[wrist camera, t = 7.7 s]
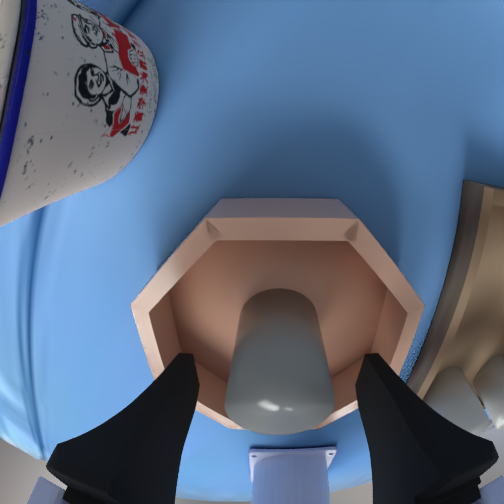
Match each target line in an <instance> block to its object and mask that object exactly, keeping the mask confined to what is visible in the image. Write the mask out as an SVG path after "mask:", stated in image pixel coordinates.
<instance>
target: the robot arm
mask: <svg viewBox="0 0 504 504" xmlns="http://www.w3.org/2000/svg"><path fill="white" fill-rule="evenodd" d="M199 387H200V383H199V379H198V374H197V370H196V365H195V361H194V356H193V354H189V353H178V354H177V355H176V357H175V358H174V359H173V360H172V361H171V362H170V364H169V365H168V366H167V367H166V368H165V369H164V371H163V372H162V373H161V374H160V375H159V376H158V377H157V378H156V379H155V380H154V381H153V382H152V384H151V385H150V386H149V387H148V388H147V389H146V390H145V391H144V392H142V393H141V394H140V395H139V396H138V397H137V398H136V399H135V400H134V401H133V402H132V403H130V404H129V405H128V406H127V407H126V408H124V409H123V410H122V411H120V412H119V413H118V414H116V415H115V416H113V417H112V418H110V419H109V420H108V421H106V422H104V423H103V424H101V425H100V426H98V427H96V428H94V429H92V430H90V431H88V432H86V433H84V434H82V435H80V436H78V437H75V438H73V439H70V440H68V441H65V442H62V443H59V444H57V446H56V447H55V449H54V451H53V453H52V455H51V457H50V459H49V461H48V463H47V465H46V467H47V470H49V472H50V473H51V474H53V475H54V476H55V477H56V478H58V479H59V480H60V481H61V482H63V483H64V484H65V485H67V486H68V487H67V489H66V491H65V490H64V489H62V488H61V487H59V486H57V485H55V484H53V483H52V482H50V481H48V480H47V479H45V478H43V477H39V479H38V481H37V483H36V485H35V487H34V489H33V492H32V494H31V496H30V498H29V501H28V503H27V504H175V495H176V486H177V479H178V473H179V466H180V461H181V455H182V451H183V447H184V443H185V440H186V437H187V434H188V431H189V427H190V424H191V421H192V418H193V415H194V411H195V408H196V405H197V399H198V393H199ZM355 389H356V396H357V403H358V408H359V412H360V415H361V419H362V423H363V427H364V430H365V434H366V438H367V442H368V446H369V451H370V458H371V468H372V482H373V504H504V478H503V476H500V477H499V478H497V479H495V480H494V481H492V482H490V483H489V484H487V485H485V486H484V487H482V488H480V489H479V488H478V484H480V483H481V480H480V477H479V476H480V475H482V474H483V473H484V472H485V471H487V470H488V469H489V468H490V467H491V466H493V464H495V463H496V461H497V460H498V457H499V456H498V453H497V451H496V449H495V446H494V444H493V442H492V441H489V440H487V439H484V438H482V437H479V436H476V435H474V434H472V433H470V432H468V431H466V430H464V429H462V428H460V427H459V426H457V425H455V424H454V423H452V422H451V421H449V420H447V419H446V418H444V417H443V416H442V415H440V414H439V413H437V412H436V411H435V410H434V409H432V408H431V407H430V406H429V405H427V404H426V403H425V402H424V401H423V400H422V399H421V398H420V397H419V396H417V395H416V394H415V393H414V392H413V391H412V390H411V389H410V388H409V387H408V386H407V385H406V383H405V382H404V381H403V380H402V379H401V378H400V377H399V376H398V375H397V374H396V373H395V371H394V370H393V369H392V368H391V367H390V366H389V365H388V364H387V362H386V361H385V360H384V359H383V358H382V357H381V356H380V355H379V353H370V354H365V355H364V359H363V362H362V365H361V368H360V371H359V375H358V378H357V381H356V384H355ZM336 452H337V447H334V446H333V447H321V448H305V449H250V450H249V463H250V474H251V482H252V483H253V484H252V497H251V504H330V495H329V483H328V471H327V469H328V467H329V466H330V464H331V462H332V460H333V458H334V456H335V454H336Z"/></svg>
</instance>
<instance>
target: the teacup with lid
mask: <svg viewBox="0 0 504 504" xmlns="http://www.w3.org/2000/svg"><path fill="white" fill-rule="evenodd" d="M158 95H159V79H158V72H157V67H156V63H155V60H154V58H153V55H152V53H151V51H150V50H149V48H148V47H147V45H146V44H145V43H144V42H143V41H142V40H141V39H140V38H139V37H138V36H137V35H135V34H134V33H132V32H131V31H129V30H128V29H126V28H124V27H123V26H121V25H119V24H118V23H116V22H114V21H113V20H111V19H109V18H108V17H106V16H104V15H102V14H101V13H99V12H97V11H95V10H93V9H92V8H90V7H88V6H86V5H84V4H82V3H80V2H78V1H76V0H0V227H2V226H4V225H6V224H7V223H9V222H12V221H14V220H16V219H18V218H20V217H22V216H24V215H26V214H28V213H30V212H33V211H35V210H37V209H39V208H41V207H44V206H46V205H48V204H51V203H53V202H55V201H58V200H60V199H63V198H65V197H68V196H70V195H73V194H75V193H78V192H80V191H83V190H86V189H88V188H91V187H94V186H96V185H99V184H101V183H104V182H106V181H107V180H109V179H111V178H112V177H114V176H115V175H117V174H118V173H119V172H120V171H121V170H123V169H124V168H125V167H126V166H127V165H128V164H129V162H130V161H131V160H132V159H133V158H134V156H135V155H136V154H137V152H138V151H139V149H140V148H141V146H142V145H143V143H144V141H145V139H146V137H147V135H148V133H149V131H150V128H151V126H152V123H153V120H154V116H155V113H156V108H157V103H158Z"/></svg>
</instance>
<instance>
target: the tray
mask: <svg viewBox="0 0 504 504" xmlns="http://www.w3.org/2000/svg"><path fill="white" fill-rule="evenodd" d="M500 353H504V188H503V187H498V186H494V185H489V184H484V183H479V182H474V181H468V180H464V181H463V190H462V199H461V206H460V213H459V219H458V225H457V230H456V236H455V241H454V245H453V250H452V255H451V259H450V263H449V267H448V271H447V275H446V278H445V282H444V286H443V289H442V292H441V296H440V299H439V302H438V305H437V308H436V311H435V314H434V317H433V320H432V323H431V326H430V328H429V331H428V334H427V336H426V339H425V341H424V344H423V346H422V349H421V351H420V354H419V356H418V358H417V361H416V363H415V365H414V367H413V370H412V372H411V374H410V376H409V378H408V380H407V382H406V385H407V386H408V387H409V388H410V389H411V390H412V391H413V392H414V393H415V394H416V395H417V396H419V397H420V398H421V399H423V397H424V396H425V394H426V392H427V390H428V389H429V387H430V385H431V383H432V381H433V380H434V378H435V376H436V374H437V373H439V372H441V371H442V370H444V369H447V368H450V367H460V368H461V369H462V371H463V373H464V374H465V376H466V378H467V379H468V381H469V383H470V385H471V386H472V388H473V390H474V392H475V393H476V395H477V397H478V399H479V401H480V403H481V404H482V406H483V408H484V409H485V408H486V407H485V406H484V404H483V402H482V400H481V398H480V396H479V395H478V393H477V391H476V389H475V388H474V386H473V380H474V378H475V376H476V374H477V373H478V371H479V370H480V369H481V368H482V367H483V365H484V364H485V363H486V362H488V361H489V360H490V359H491V358H493V357H494V356H496V355H497V354H500Z"/></svg>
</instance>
